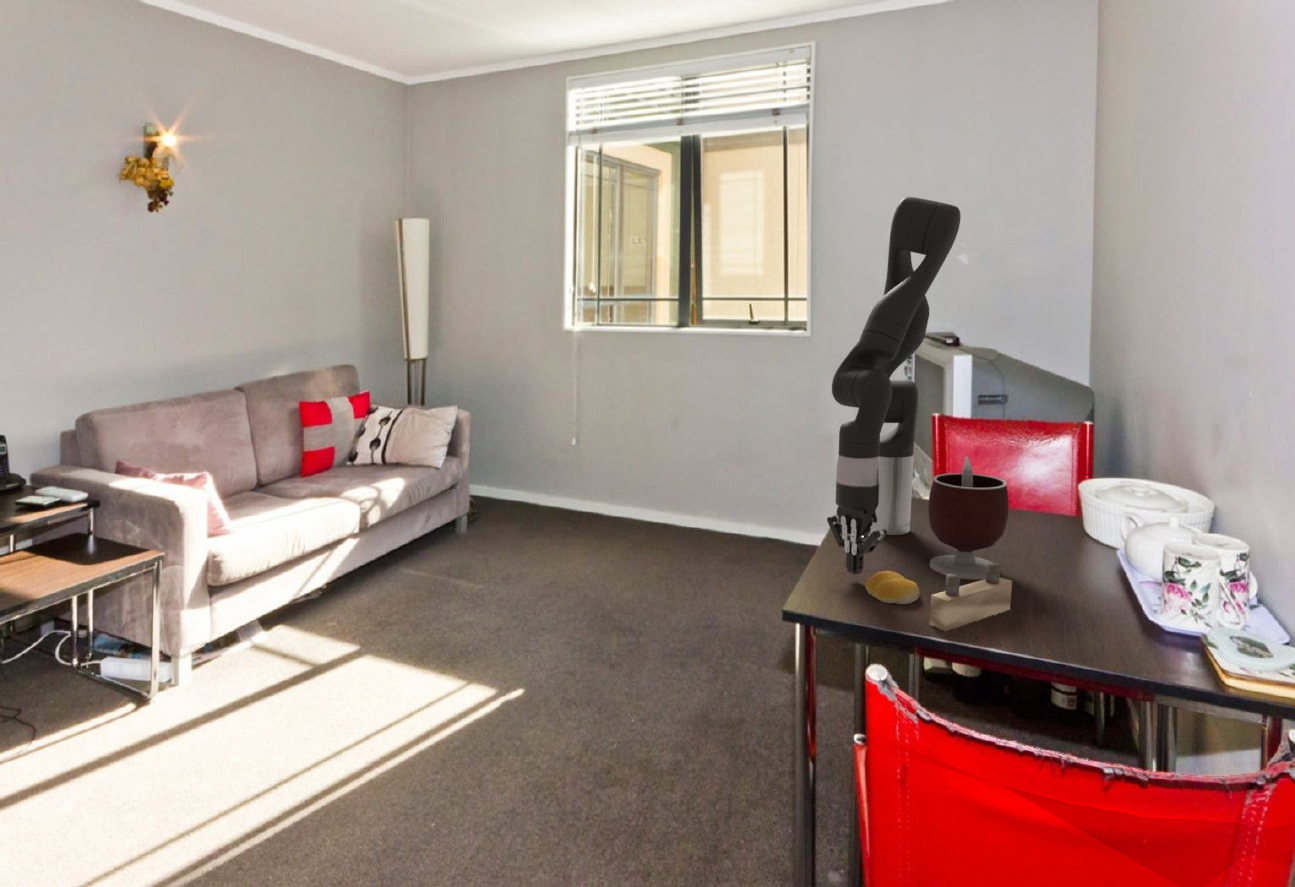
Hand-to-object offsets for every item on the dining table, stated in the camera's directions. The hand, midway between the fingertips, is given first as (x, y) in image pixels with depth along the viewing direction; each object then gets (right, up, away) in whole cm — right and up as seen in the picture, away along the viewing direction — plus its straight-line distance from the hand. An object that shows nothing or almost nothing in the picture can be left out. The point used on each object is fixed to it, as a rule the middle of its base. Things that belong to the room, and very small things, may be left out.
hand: (854, 572), depth 144 cm
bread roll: (+5, -3, -7) cm, 9 cm away
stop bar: (+14, -4, -17) cm, 23 cm away
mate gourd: (+23, 0, +7) cm, 24 cm away
